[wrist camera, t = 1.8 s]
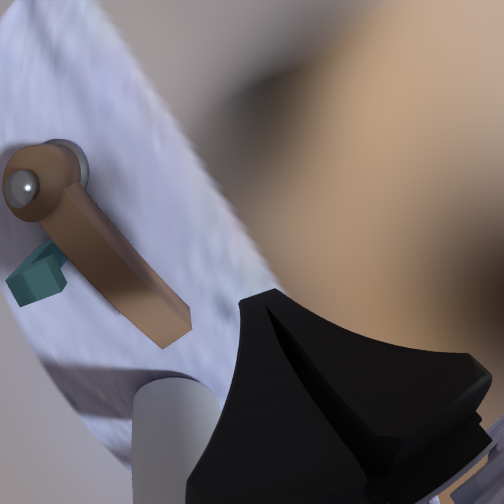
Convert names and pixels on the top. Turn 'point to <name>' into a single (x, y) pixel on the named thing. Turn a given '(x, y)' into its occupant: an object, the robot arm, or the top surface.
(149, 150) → the top surface
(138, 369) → the top surface
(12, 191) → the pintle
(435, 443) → the robot arm
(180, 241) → the top surface
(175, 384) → the beverage can
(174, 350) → the top surface
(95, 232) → the latch bar
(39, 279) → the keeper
